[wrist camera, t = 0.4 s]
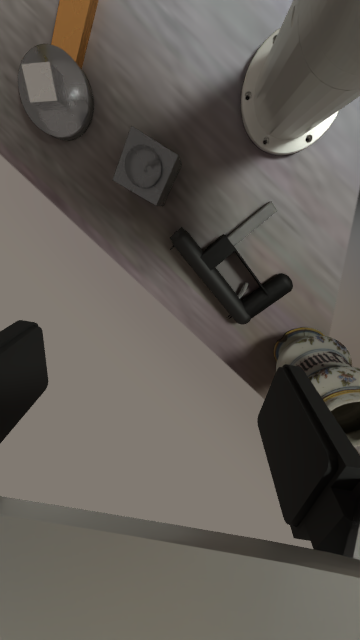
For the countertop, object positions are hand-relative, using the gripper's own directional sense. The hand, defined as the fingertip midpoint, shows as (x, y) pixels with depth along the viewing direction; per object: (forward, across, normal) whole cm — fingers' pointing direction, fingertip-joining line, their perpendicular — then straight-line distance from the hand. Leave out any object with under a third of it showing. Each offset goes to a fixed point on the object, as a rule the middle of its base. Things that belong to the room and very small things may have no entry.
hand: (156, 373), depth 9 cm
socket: (+33, +7, -10) cm, 35 cm away
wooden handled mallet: (+33, +18, -23) cm, 44 cm away
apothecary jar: (+33, -25, +15) cm, 44 cm away
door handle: (+34, -9, 0) cm, 35 cm away
